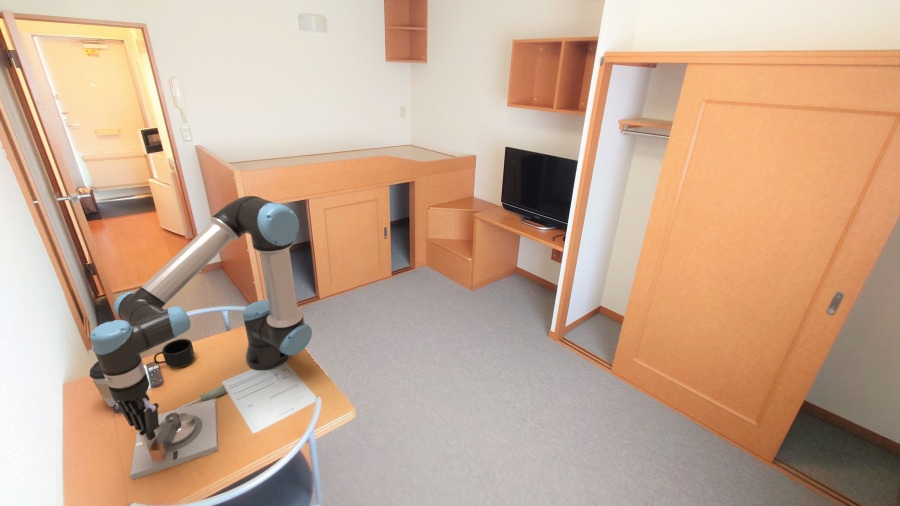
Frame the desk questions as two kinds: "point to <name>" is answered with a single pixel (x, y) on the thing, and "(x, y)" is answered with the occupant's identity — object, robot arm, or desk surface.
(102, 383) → the coffee cup
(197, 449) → the plate
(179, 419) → the dial
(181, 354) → the mug
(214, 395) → the screwdriver
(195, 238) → the robot arm
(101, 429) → the desk surface
